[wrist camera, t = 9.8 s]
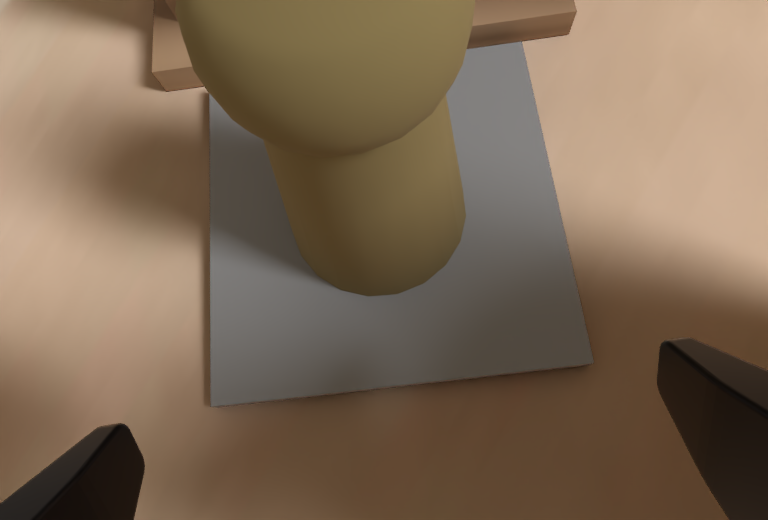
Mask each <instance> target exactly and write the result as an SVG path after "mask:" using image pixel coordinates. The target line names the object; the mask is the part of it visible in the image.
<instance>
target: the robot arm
mask: <svg viewBox="0 0 768 520" xmlns="http://www.w3.org/2000/svg"><path fill="white" fill-rule="evenodd" d="M657 385H658V390H659V392H660V395H661V397H662V399H663V401H664V403H665V405H666V407H667V409H668V411H669V413H670V415H671V417H672V419H673V421H674V423H675V425H676V427H677V429H678V431H679V433H680V435H681V437H682V439H683V441H684V443H685V445H686V447H687V449H688V451H689V453H690V455H691V457H692V458H693V460H694V462H695V464H696V466H697V468H698V470H699V472H700V474H701V476H702V477H703V479H704V481H705V482H706V484H707V486H708V487H709V489H710V491H711V492H712V494H713V495H714V497H715V498H716V500H717V501H718V503H719V505H720V506H721V508H722V509H723V511H724V512H725V514H726V515H727V517H728V518H729V520H768V371H767V370H765V369H763V368H760V367H758V366H756V365H753V364H751V363H749V362H746V361H744V360H742V359H739V358H737V357H735V356H732V355H730V354H728V353H725V352H723V351H721V350H718V349H716V348H714V347H711V346H709V345H707V344H704V343H702V342H700V341H697V340H695V339H693V338H689V337H683V338H676V339H670V340H665V341H664V342H663V343H662V344H661V346H660V352H659V363H658V374H657ZM144 468H145V465H144V459H143V456H142V454H141V452H140V450H139V448H138V446H137V443H136V441H135V439H134V437H133V435H132V433H131V431H130V429H129V428H128V427H127V426H126V425H125V424H122V423H118V424H111V425H105V426H100V427H98V428H96V429H95V430H94V431H92V432H91V433H90V434H89V435H87V436H86V437H85V438H83V439H82V440H81V441H80V442H78V443H77V444H76V445H75V446H73V447H72V448H71V449H69V450H68V451H67V452H66V453H64V454H63V455H62V456H60V457H59V458H58V459H57V460H55V461H54V462H53V463H52V464H50V465H49V466H48V467H46V468H45V469H44V470H43V471H41V472H40V473H39V474H37V475H36V476H35V477H34V478H32V479H31V480H30V481H29V482H27V483H26V484H25V485H23V486H22V487H21V488H20V489H18V490H17V491H16V492H14V493H13V494H12V495H11V496H9V497H8V498H7V499H6V500H4V501H3V502H2V503H0V520H134V516H135V511H136V507H137V502H138V498H139V493H140V489H141V484H142V480H143V475H144Z"/></svg>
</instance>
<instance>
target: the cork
mask: <svg viewBox="0 0 768 520" xmlns="http://www.w3.org/2000/svg"><path fill="white" fill-rule="evenodd" d="M474 8H475V0H176V7H175V12H176V16H177V19H178V23H179V26H180V30H181V34H182V37H183V40H184V43H185V46H186V49H187V52H188V55H189V58H190V61H191V64H192V67H193V70H194V72H195V73H196V75H197V76H198V78H199V79H200V81H201V82H202V84H203V85H204V86H205V88H206V89H207V91H208V92H209V93H210V94H211V96H212V97H213V98H214V99H215V100H216V101H217V103H218V104H219V105H220V106H221V107H222V108H223V110H224V111H225V112H226V113H227V114H228V115H229V116H230V118H231V119H232V120H233V121H235V122H236V123H237V124H239V125H240V126H242V127H243V128H244V129H246V130H247V131H249V132H250V133H252V134H254V135H255V136H257V137H259V138H261V139H263V141H264V144H265V147H266V150H267V154H268V157H269V160H270V163H271V166H272V169H273V172H274V175H275V179H276V182H277V185H278V188H279V191H280V194H281V197H282V201H283V204H284V207H285V210H286V213H287V216H288V219H289V222H290V226H291V229H292V232H293V235H294V237H295V240H296V243H297V246H298V248H299V251H300V254H301V256H302V257H303V259H304V260H305V261H306V262H307V263H308V265H309V266H310V267H311V268H312V269H313V271H314V272H315V273H316V274H317V276H319V277H320V278H322V279H324V280H325V281H327V282H329V283H330V284H332V285H333V286H335V287H337V288H338V289H340V290H343V291H347V292H351V293H356V294H360V295H364V296H368V297H369V296H381V295H393V294H399V293H401V292H404V291H406V290H409V289H411V288H414V287H416V286H419V285H421V284H424V283H425V282H426V281H427V280H429V279H430V278H431V277H432V276H433V275H435V274H436V273H437V272H438V271H439V270H441V269H442V268H443V267H444V266H445V265H446V264H447V262H448V261H449V259H450V258H451V256H452V254H453V253H454V251H455V250H456V248H457V246H458V245H459V243H460V241H461V236H462V232H463V228H464V223H465V219H466V211H465V203H464V195H463V188H462V182H461V176H460V171H459V165H458V159H457V154H456V148H455V143H454V137H453V131H452V126H451V120H450V114H449V109H448V103H447V97H446V93H447V92H448V90H449V89H450V87H451V86H452V84H453V83H454V81H455V79H456V77H457V75H458V73H459V71H460V69H461V67H462V65H463V61H464V57H465V53H466V49H467V45H468V41H469V37H470V33H471V29H472V24H473V16H474Z"/></svg>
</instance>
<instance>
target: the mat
mask: <svg viewBox="0 0 768 520" xmlns="http://www.w3.org/2000/svg"><path fill="white" fill-rule="evenodd" d="M446 97H447V103H448V109H449V114H450V120H451V126H452V131H453V137H454V143H455V148H456V154H457V159H458V165H459V171H460V176H461V182H462V188H463V195H464V203H465V211H466V219H465V223H464V228H463V232H462V236H461V241H460V243H459V245H458V246H457V248H456V250H455V251H454V253H453V254H452V256H451V258H450V259H449V261H448V262H447V264H446V265H445V266H444V267H443V268H442V269H441V270H439V271H438V272H437V273H436V274H435V275H433V276H432V277H431V278H430V279H429V280H427V281H426V282H425V283H424V284H421V285H419V286H416V287H414V288H411V289H409V290H406V291H404V292H401V293H399V294H393V295H381V296H369V297H368V296H364V295H360V294H356V293H351V292H347V291H343V290H340V289H338V288H337V287H335V286H333V285H332V284H330V283H329V282H327V281H325V280H324V279H322V278H320V277H319V276H317V274H316V273H315V272H314V271H313V269H312V268H311V267H310V266H309V265H308V263H307V262H306V261H305V260H304V259H303V257H302V256H301V254H300V251H299V248H298V246H297V243H296V240H295V237H294V235H293V232H292V229H291V226H290V222H289V219H288V216H287V213H286V210H285V207H284V204H283V201H282V197H281V194H280V191H279V188H278V185H277V182H276V179H275V175H274V172H273V169H272V166H271V163H270V160H269V157H268V154H267V150H266V147H265V144H264V141H263V139H261V138H259V137H257V136H255V135H254V134H252V133H250V132H249V131H247V130H246V129H244V128H243V127H242V126H240V125H239V124H237V123H236V122H235V121H233V120H232V119H231V118H230V116H229V115H228V114H227V113H226V112H225V111H224V110H223V108H222V107H221V106H220V105H219V104H218V103H217V101H216V100H215V99H214V98H213V97H212V96H211V94H210V93H209V111H210V380H211V407H226V406H235V405H244V404H253V403H261V402H270V401H279V400H288V399H296V398H305V397H314V396H322V395H331V394H340V393H349V392H357V391H366V390H375V389H384V388H392V387H401V386H410V385H419V384H427V383H436V382H445V381H453V380H462V379H471V378H480V377H488V376H497V375H506V374H515V373H523V372H532V371H541V370H550V369H558V368H567V367H576V366H585V365H590V364H592V363H594V360H593V355H592V351H591V346H590V342H589V338H588V333H587V329H586V324H585V320H584V315H583V311H582V306H581V302H580V298H579V293H578V289H577V284H576V280H575V275H574V271H573V266H572V262H571V258H570V253H569V249H568V244H567V240H566V235H565V231H564V227H563V222H562V218H561V213H560V209H559V204H558V200H557V195H556V191H555V187H554V182H553V178H552V173H551V169H550V164H549V160H548V156H547V151H546V147H545V142H544V138H543V133H542V129H541V124H540V120H539V116H538V111H537V107H536V102H535V98H534V93H533V89H532V85H531V80H530V76H529V71H528V67H527V62H526V58H525V53H524V49H523V45H522V41H521V42H514V43H507V44H500V45H493V46H486V47H479V48H472V49H466V53H465V57H464V61H463V65H462V67H461V69H460V71H459V73H458V75H457V77H456V79H455V81H454V83H453V84H452V86H451V87H450V89H449V90H448V92H447V93H446Z"/></svg>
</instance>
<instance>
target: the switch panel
mask: <svg viewBox="0 0 768 520" xmlns="http://www.w3.org/2000/svg"><path fill="white" fill-rule="evenodd" d="M175 7H176V0H154V22H153V49H152V73H153V75H154V76H155V77H156V79H157V80H158V81H159V82H160V84H161V85H162V86H163V88H164V89H165V90H166V91H173V90H180V89H187V88H194V87H201V86H204V85H203V84H202V82H201V81H200V79H199V78H198V76H197V75H196V73H195V72H194V70H193V67H192V64H191V61H190V58H189V55H188V52H187V49H186V46H185V43H184V40H183V37H182V34H181V30H180V26H179V23H178V19H177V16H176V12H175ZM576 12H577V10H576V6H575V3H574V0H475V8H474V16H473V24H472V29H471V33H470V37H469V41H468V45H467V49H468V48H475V47H482V46H489V45H496V44H503V43H510V42H518V41H525V40H532V39H539V38H546V37H553V36H560V35H567V34H569V32H570V29H571V26H572V23H573V21H574V18H575V15H576Z"/></svg>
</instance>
